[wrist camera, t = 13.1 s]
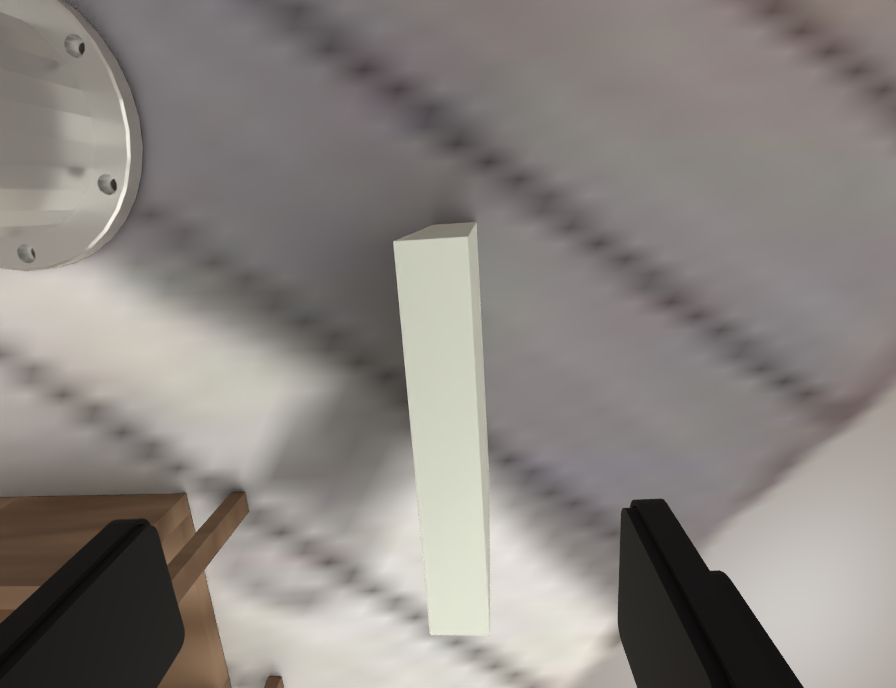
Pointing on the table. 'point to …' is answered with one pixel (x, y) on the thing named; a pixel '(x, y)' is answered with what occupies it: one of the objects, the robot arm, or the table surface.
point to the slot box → (187, 553)
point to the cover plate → (447, 420)
